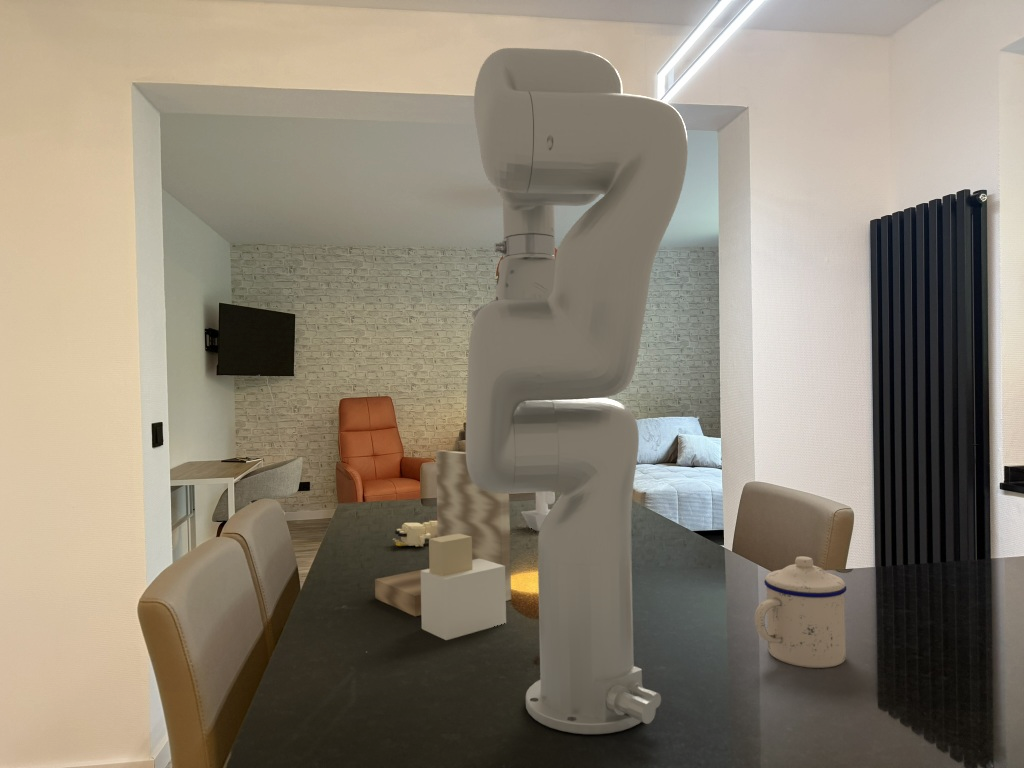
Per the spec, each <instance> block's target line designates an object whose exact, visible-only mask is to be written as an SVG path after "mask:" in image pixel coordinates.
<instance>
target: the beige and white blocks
mask: <svg viewBox="0 0 1024 768" xmlns="http://www.w3.org/2000/svg"><path fill="white" fill-rule="evenodd" d="M428 550H429V551H428V554H429V555H428V556H429V557H428V558H429V560H428V561H429V563H428V564H429V567H428V568H430V569H427V568H425V569H426V570H422V569H420V570H421V615H420V616H421V629H422V630H423V631H425V632H428V633H429V634H432V635H434V636H436V637H438V638H441V639H442V640H445V641H449V640H452V639H455V638H459V637H462V636H466V635H469V634H473V633H476V632H480V631H484V630H487V629H491V628H493V627H494V626H495V627H497V625H498V626H500V625H501V624H502V625H504V623H505V624H507V601H506V587H505V566H504V565H500V564H497V563H493V562H490V561H487V560H483V559H480V558H479V559H474V560H472V537H471V536H467V535H463V534H454V535H448V536H442V537H434V538H428Z"/></svg>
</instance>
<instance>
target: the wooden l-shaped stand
mask: <svg viewBox="0 0 1024 768" xmlns="http://www.w3.org/2000/svg"><path fill="white" fill-rule="evenodd" d="M435 467H436V473H435V474H436V476H435V477H436V511H437V512H436V516H437V517H436V519H437V529H438V537H442V536H448V535H454V534H463V535H467V536H471V537H472V560H474V559H479V558H480V559H483V560H487V561H490V562H493V563H497V564H500V565H504V566H505V587H506V602H508V601H510V600H512V580H511V579H512V578H511V576H512V575H511V574H512V573H511V571H512V570H511V537H510V533H511V526H510V493H490V492H486V491H483V490H481V489H479V488H478V487H477V486H476V485H475V484H474V483H473V482H472V480H471V478H470V475H469V472H468V468H467V462H466V451H455V450H454V451H453V450H447V449H442V450H436V451H435ZM426 569H430V568H429V567H428V568H424V569H418V570H414V571H409V572H404V573H399V574H394V575H393V574H392V575H390V576H384V577H380V578H379V577H378V578H374V590H375V591H374V593H375V594H374V595H375V597H374V598H375V599H376V600H378V601H380V602H382V603H385V604H387V605H389V606H391V607H394V608H395V609H398V610H400V611H402V612H405V613H407V614H408V615H411V616H413V617H419V616H421V570H426Z"/></svg>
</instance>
